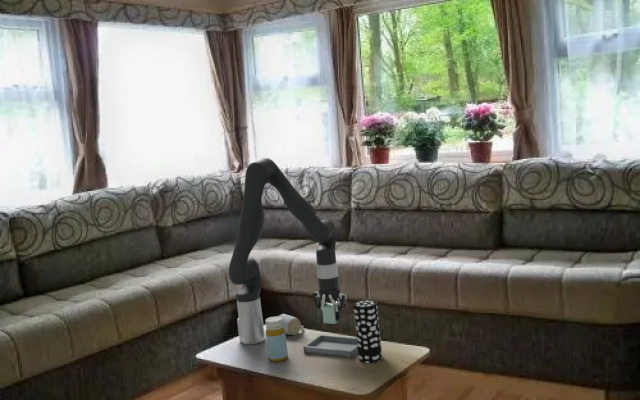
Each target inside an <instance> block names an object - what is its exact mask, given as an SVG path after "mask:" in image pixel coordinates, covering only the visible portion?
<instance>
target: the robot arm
mask: <svg viewBox="0 0 640 400" xmlns="http://www.w3.org/2000/svg"><path fill="white" fill-rule="evenodd" d="M244 177H245V178H244V191H243V193H244V194H243V197H242V198H243V200H242V204H241V209H240V210H241V211H240V216H239V220H238V221H239V222H238V228H237V234H236V239H235V244H234V249H233V251H232V256H231V258H230V262H229V267H228V276H229V277H228V278H229V280H230V282H231V283H232V284H233V285H237V286H240V285H241V287H240V289H238V291H237V292H236V293H235V299H236V305H237V313H238V315H237V316H238V318H237V320H236V322H237V331H238V339H239V342H240V343H242V344H243V345H257V344H260V343H262V342H264V341H266V340H265V339H266V334H265V329H264V327H265V326H264V319H263V311H262V305H261V295H260V294H261V274H260V266H259V264H258V262H257V260H256V259H255V258H254V257H251V256H250V254H251V252H252V250H253V249H254V247H255V246H256V244H257V243H258V241H259V239H260V238H261V236H262V235H263V234H262V233H263V229H264V225H265V224H264V223H265V211H264V207H263V204H262V203H263V201H262V199H263V194H264V189H265V186H266V185H267V184H269V185H271V186H272V188H275V190H276V191H277V192H278V193H279V195H280V196H281V198H282V200H283V203H284V204H285V206H286V208H287V209H288V211H289V212H290V213H291V214H292V215H293V216H294V217H295V218H296V219H297V220H298V221H299V222H300V223H301V224H302V226H303V228H304V229H305V230H306V232H307V233H308V234H309V236H310V237H311V239H313V240H314V241H316V242H317V243H318V246H317V249H316V251H315V256H316V257H315V259H316V273H317V275H316V276H317V284H318V291H317V290H315V291H314V292H312V294H311V295H312V298H313V301H314V304H315V307H316V309H320V310H321V318H322V319H323V311H322V307H323V306H325V305H327V304H328V303H332V305H333V306H334V307H335V311H336V312H335V315H336V321H338V322H340V321H341V319H342V312H341V311H343V310H344V309H346V307H347V301H348V296H349V295H348V293H342V292H341V290H340V281H339V280H340V279H339V270H338V265H337V256H336V245H337V228H336V225H335V224H334V222H333V221H332V220H330V219H323V220H321V219H320V218H319V217H318V216H317V210H316V209H315V207H314V206H312V204H311V203H309V201H307V200H306V198H304V197H303V196H302V194H300V192H298V190H297V189H296V188H295V187H294V186H293V184H292V183H291V182H290V181H289V179H288V178H287V177H286V175H284V173H283V172H282V169H280V167H278V165H277V163H275V162H274V160H272V158H268V157H262V158H259V159H257V160H254V161H251V163H249V164H248V166H247V167H246V170H245V175H244ZM249 256H250V257H249Z"/></svg>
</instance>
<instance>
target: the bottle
mask: <svg viewBox="0 0 640 400" xmlns="http://www.w3.org/2000/svg"><path fill="white" fill-rule="evenodd" d="M279 316H280V315H277V316H270V317H268V318H266V319H265V328H266V330H265V339H266V340H265V341H266V348H267V354H268V359H269V360H270V361H271V362H273V363H279V362H283V361H285V360H287V358H288V356H289V355H288V354H289V353H288V346H287V338H286V337H287V336H286V335H287V334H285V329H284V327H283V320H282V317H279Z"/></svg>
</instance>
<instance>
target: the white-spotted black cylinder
mask: <svg viewBox="0 0 640 400" xmlns="http://www.w3.org/2000/svg"><path fill="white" fill-rule="evenodd" d="M352 308H353V317H354V327H355V335H356V337H355V338H357V348H358V353H357V355H358V357H357V358H358V361H359V362H361V363H362V364H375V363H377V362H378V363H379V362H380V361H382V359H383V350H382V341H381V340H382V339H381V330H380V320H379V309H378V301H376V300H374V299H373V300H372V299H364V300H363V299H362V300H361V299H360V300H358V301H355V302H354V303H353V304H352Z"/></svg>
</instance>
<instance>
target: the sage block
mask: <svg viewBox="0 0 640 400" xmlns="http://www.w3.org/2000/svg"><path fill="white" fill-rule="evenodd" d="M322 311H323V318H322V321H323V323H324V324H333V325H335V324H337V323H338V322H339V321H336V315H335V312H336V311H335V307H334V306H333V305H332V303H330V302H328V304H327V305H325V306H323V307H322V310H321V312H322Z"/></svg>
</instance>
